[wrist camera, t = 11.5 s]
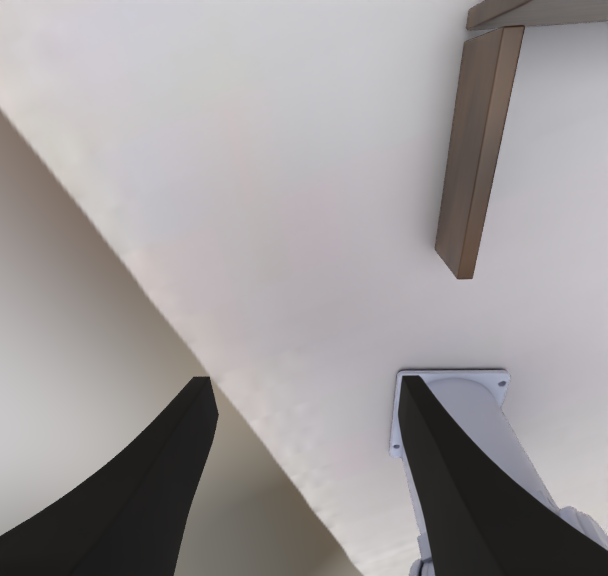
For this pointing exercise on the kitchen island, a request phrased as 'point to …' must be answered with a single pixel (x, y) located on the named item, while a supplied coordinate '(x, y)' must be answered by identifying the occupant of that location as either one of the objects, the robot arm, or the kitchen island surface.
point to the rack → (489, 114)
